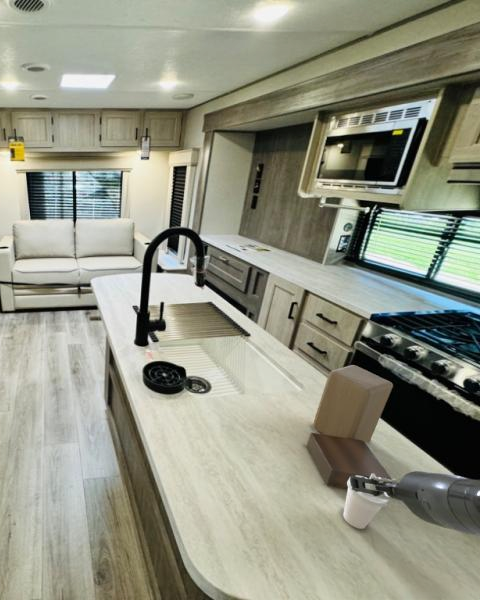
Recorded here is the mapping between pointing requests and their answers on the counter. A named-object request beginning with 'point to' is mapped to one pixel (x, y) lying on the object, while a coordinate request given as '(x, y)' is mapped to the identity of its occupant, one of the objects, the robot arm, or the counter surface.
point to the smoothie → (361, 506)
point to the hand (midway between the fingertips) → (378, 487)
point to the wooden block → (352, 403)
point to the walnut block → (343, 459)
